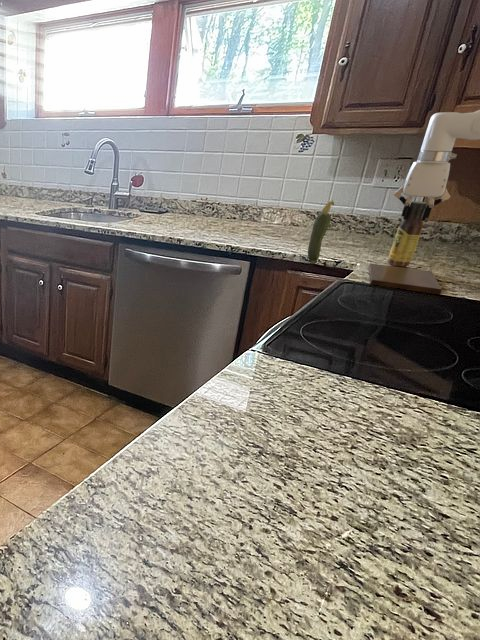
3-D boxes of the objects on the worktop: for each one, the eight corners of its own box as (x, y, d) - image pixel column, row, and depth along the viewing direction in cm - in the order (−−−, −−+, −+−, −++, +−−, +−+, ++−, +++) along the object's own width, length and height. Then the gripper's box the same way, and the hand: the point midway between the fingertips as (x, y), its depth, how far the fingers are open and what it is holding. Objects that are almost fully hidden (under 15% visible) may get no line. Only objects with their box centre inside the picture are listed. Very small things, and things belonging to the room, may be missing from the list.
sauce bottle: (385, 261, 175) (405, 200, 167) (408, 264, 172) (429, 201, 164) (387, 265, 170) (407, 202, 162) (410, 268, 167) (432, 203, 159)
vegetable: (301, 262, 172) (318, 199, 164) (306, 260, 175) (322, 198, 167) (316, 265, 170) (333, 201, 161) (320, 263, 172) (338, 200, 164)
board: (429, 275, 161) (431, 271, 160) (440, 294, 142) (442, 289, 141) (368, 267, 168) (369, 263, 167) (370, 284, 149) (371, 279, 149)
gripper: (466, 158, 157) (445, 220, 164) (398, 156, 165) (381, 215, 172) (471, 159, 151) (448, 223, 158) (400, 157, 159) (382, 218, 166)
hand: (413, 219), depth 165 cm, fingers closed on sauce bottle, 4 cm apart
